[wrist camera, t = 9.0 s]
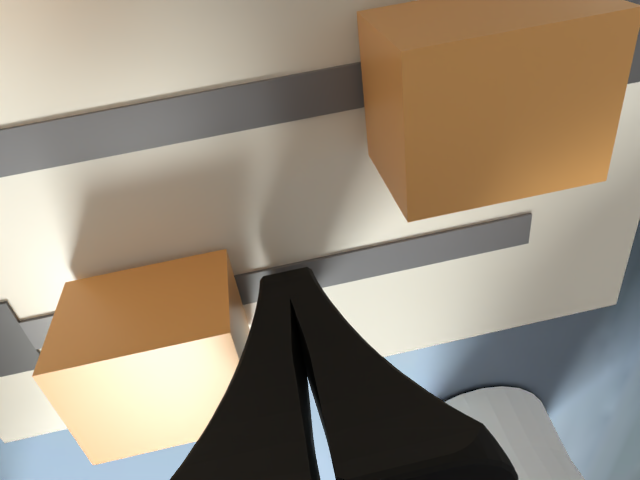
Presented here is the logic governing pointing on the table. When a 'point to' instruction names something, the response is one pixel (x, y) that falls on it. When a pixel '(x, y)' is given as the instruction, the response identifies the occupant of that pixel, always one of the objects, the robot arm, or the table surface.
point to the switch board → (258, 180)
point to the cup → (520, 431)
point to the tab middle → (493, 97)
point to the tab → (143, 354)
